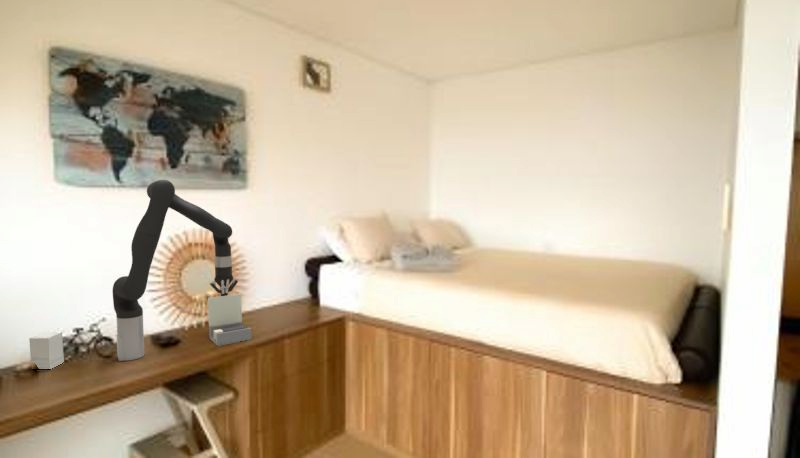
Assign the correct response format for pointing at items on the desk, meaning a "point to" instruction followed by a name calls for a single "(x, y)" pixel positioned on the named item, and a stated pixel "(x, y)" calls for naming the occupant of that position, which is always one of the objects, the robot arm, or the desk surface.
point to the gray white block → (227, 330)
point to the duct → (230, 334)
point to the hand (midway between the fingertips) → (224, 300)
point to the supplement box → (47, 350)
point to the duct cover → (224, 309)
